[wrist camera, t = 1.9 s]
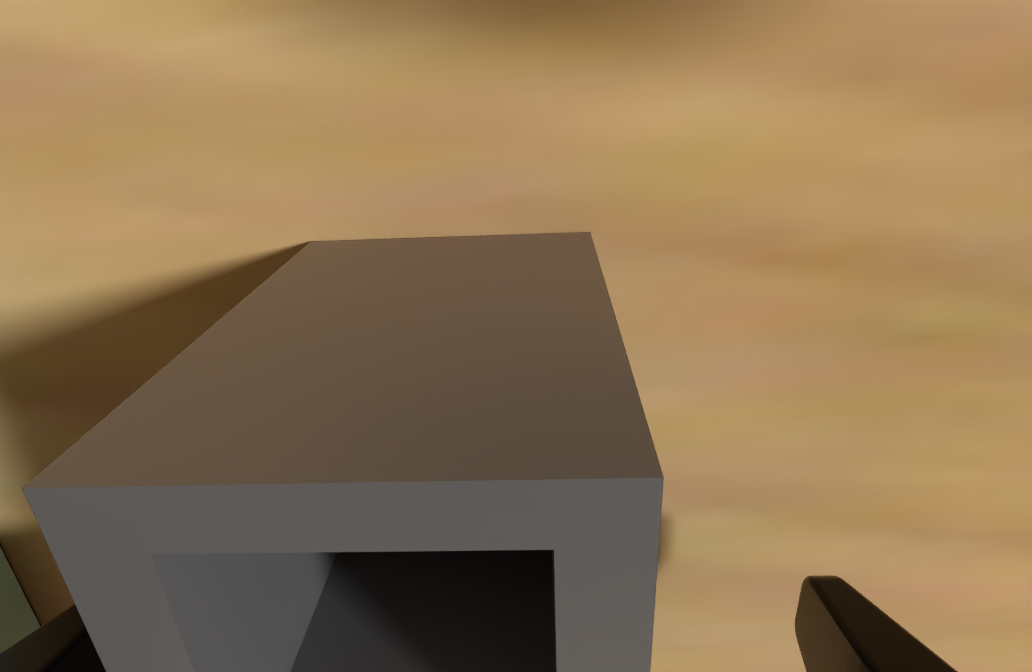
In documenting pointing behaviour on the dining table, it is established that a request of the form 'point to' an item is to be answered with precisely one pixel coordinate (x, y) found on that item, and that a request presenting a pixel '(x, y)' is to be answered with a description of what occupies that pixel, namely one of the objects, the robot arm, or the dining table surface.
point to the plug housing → (376, 475)
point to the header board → (13, 608)
